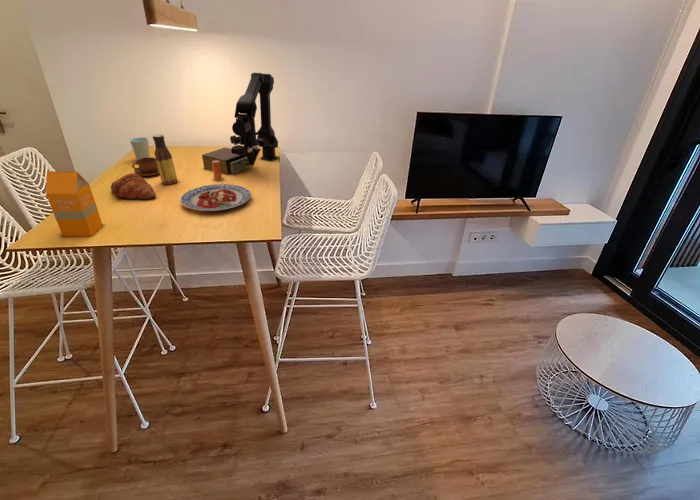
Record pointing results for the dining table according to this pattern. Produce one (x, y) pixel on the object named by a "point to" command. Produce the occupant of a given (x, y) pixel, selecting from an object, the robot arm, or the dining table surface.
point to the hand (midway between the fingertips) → (252, 165)
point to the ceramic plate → (215, 197)
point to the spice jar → (216, 170)
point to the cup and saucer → (146, 167)
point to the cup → (140, 147)
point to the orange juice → (72, 203)
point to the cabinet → (219, 159)
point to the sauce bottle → (164, 161)
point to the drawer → (238, 164)
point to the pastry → (132, 187)
